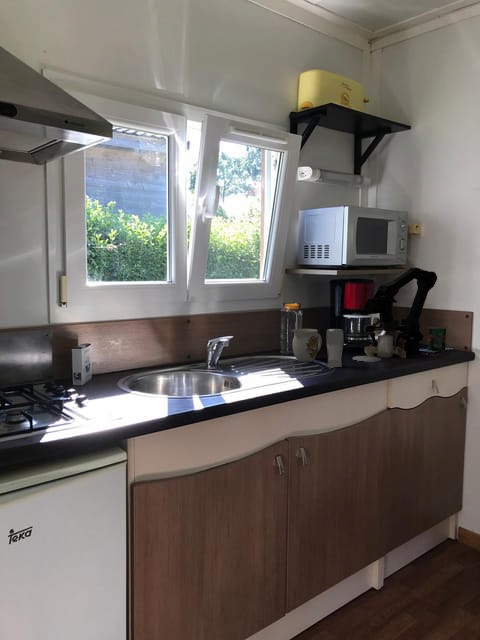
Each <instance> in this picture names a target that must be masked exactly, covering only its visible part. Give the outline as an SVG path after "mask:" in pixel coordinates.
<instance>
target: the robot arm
mask: <svg viewBox="0 0 480 640" xmlns="http://www.w3.org/2000/svg"><path fill="white" fill-rule="evenodd" d="M413 280H416V286H417V289H416V292H415V296H414V298H413V301H412V304H411V308H410V310H409V313H408V315H407V317H406V318H402V319H401V320H399V319H394V315H393V314H394V313H393V312H394V303H397V302H398V301H397V300H396V299H395V296H397V294H398V293H399V291H400V289H402V288H403V287H405V286H406V285H407V284H409V283H410V282H411V281H413ZM437 281H438V275H437V273H436V272H435V271H429V270H425V269H422V268H420V267H410V268H409V269H408V270H407V271H405V272H404V273H402V274H400V276H398V277H396V278H395V279H394V280H392V281H389V282H385V283H383V284H380V285H379V286H378V288H377V291H376V292H375V294H374V295H373V297H372V298H369V297H368V298H367V300H366V302H365V304H364V307H363V308H364V312H365V313H366V314H367V315H375V314H379V315H378V317H379V319H378V320H379V322H378V326H377V325H376V326H375V325H374V324H364V326H363V331H364V332H365V333H366V334H367V335H369V336H370V338H371V342H372V345H373V347H375V348H376V347H377V346H376V345H377V343H376V342H377V341H376V332H375V331H381V332H382V331H384V332H395V334H394V335H395V336H394V347H395V348H396V347H398V345H399V342H400V340H401V339H402V340H403V341H404V342H403V343H402V349H403V350H404V351H406V355H407V354H409V355H413V354H415V355H416V354H417V355H418V354H419V355H421V352H420V344H421V343H420V342H421V341H422V342H423V340H424V335H423V334H422V333H421V331H420V328H421V324H420V318H421V314H422V312H423V308H424V305H425V302H426V301H427V297H428V294H429V291H431V290H432V288H434V286H435V285H436V282H437ZM400 321H401V322H400Z"/></svg>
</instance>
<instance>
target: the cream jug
mask: <svg viewBox="0 0 480 640" xmlns="http://www.w3.org/2000/svg"><path fill="white" fill-rule="evenodd" d="M393 345H394V336H393V335H389V334H381V335H380V334H379V335H377V347H378V350H377V353H376V354H377V355H376V357H379V358H392V357H393V355H394V353H393V347H394V346H393Z"/></svg>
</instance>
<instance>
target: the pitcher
mask: <svg viewBox="0 0 480 640" xmlns="http://www.w3.org/2000/svg"><path fill="white" fill-rule="evenodd" d="M291 332H292V333H293V334H294V336H293V339H292V352H293V355H294V357H295V359H296V360H297V362H301V363H309V362H313V361H314V360H315V359H316V357H317V354H318V352H319V351H320V349H321V347H322V344H323V343H322V342H323V340H322V336H321V334H320V333H318V332H319V331H318V329H315V328H295V329H291Z"/></svg>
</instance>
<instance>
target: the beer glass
mask: <svg viewBox="0 0 480 640" xmlns="http://www.w3.org/2000/svg"><path fill="white" fill-rule="evenodd" d="M325 334H326V337H325V345H326V352H327V363H326V368H331V369H335V368H334V367H341V368H342V367H343V365H342V364H343V363H342V353H343V349H344V340H345V339H344V338H345V337H344V335H345V334H344V329H341V328H329V329H326V333H325Z"/></svg>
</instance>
